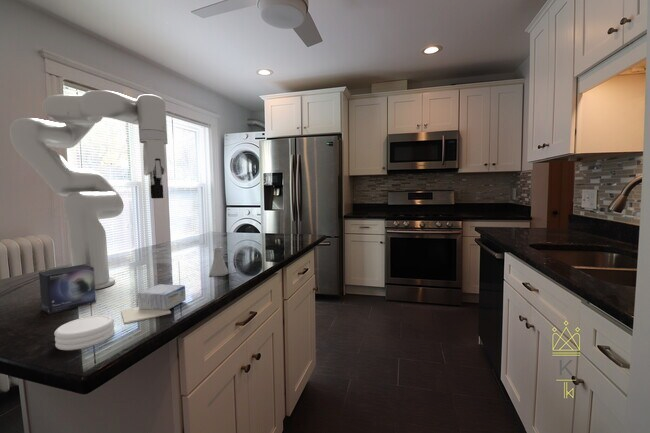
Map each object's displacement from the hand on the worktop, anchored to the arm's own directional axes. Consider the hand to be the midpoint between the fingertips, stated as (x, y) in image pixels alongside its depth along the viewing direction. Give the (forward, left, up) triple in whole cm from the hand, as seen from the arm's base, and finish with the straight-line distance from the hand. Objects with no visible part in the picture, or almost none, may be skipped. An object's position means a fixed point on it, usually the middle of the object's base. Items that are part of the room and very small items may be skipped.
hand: (157, 198), depth 96 cm
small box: (-1, -23, -29) cm, 37 cm away
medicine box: (+13, -6, -26) cm, 30 cm away
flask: (-7, +20, -29) cm, 36 cm away
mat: (+18, -7, -29) cm, 35 cm away
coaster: (+26, -19, -30) cm, 44 cm away
